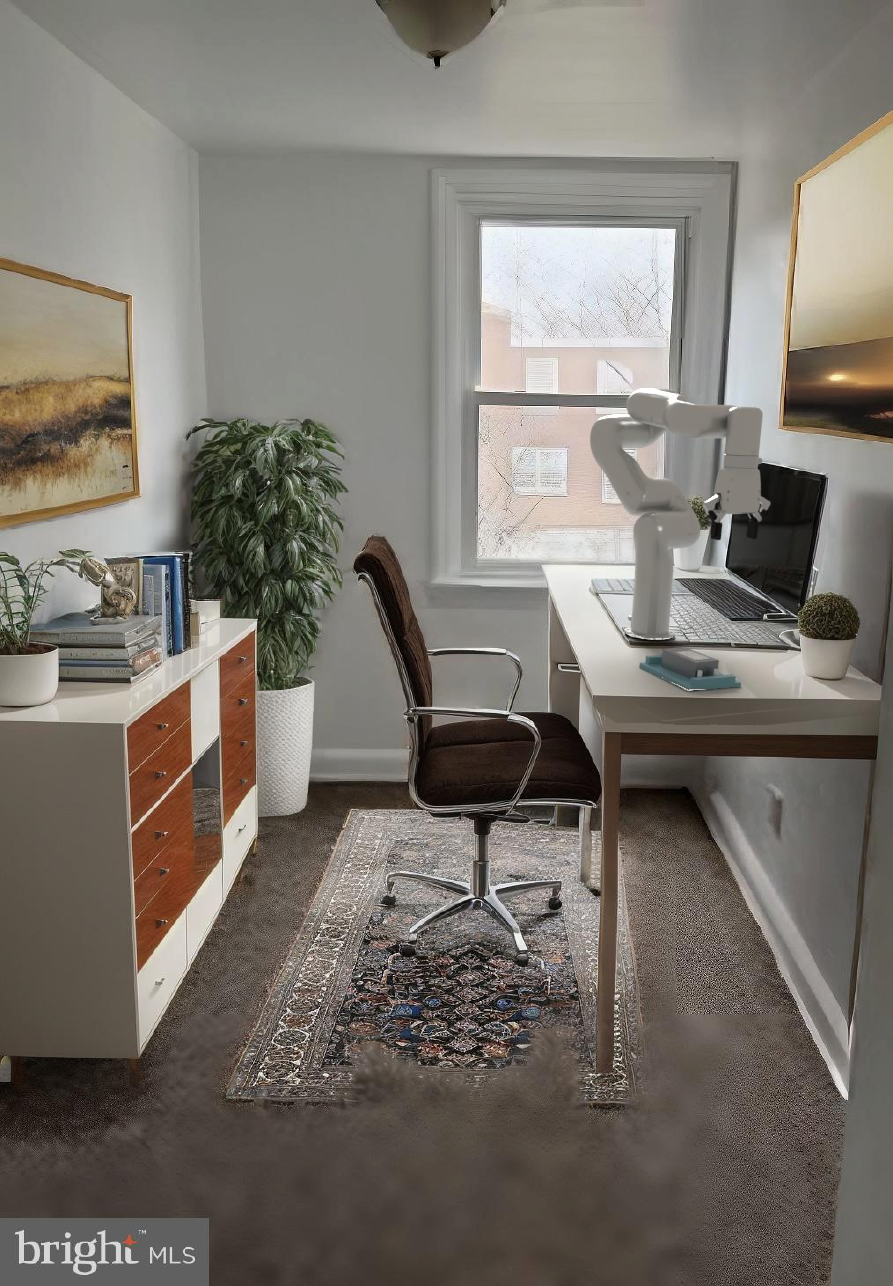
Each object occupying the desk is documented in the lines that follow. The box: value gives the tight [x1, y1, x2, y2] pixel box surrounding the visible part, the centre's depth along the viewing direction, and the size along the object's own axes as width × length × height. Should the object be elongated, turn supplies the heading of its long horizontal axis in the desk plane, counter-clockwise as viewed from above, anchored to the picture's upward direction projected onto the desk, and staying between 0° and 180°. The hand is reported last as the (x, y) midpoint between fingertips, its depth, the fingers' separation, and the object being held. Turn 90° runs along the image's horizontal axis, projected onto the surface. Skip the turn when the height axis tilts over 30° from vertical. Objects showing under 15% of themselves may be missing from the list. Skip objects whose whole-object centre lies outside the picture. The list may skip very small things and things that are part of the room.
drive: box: [661, 646, 720, 679], centre depth 227 cm, size 12×6×4 cm, turn 25°
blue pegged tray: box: [639, 654, 742, 690], centre depth 228 cm, size 20×13×4 cm, turn 20°
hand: (733, 538), depth 238 cm, fingers open, 9 cm apart
